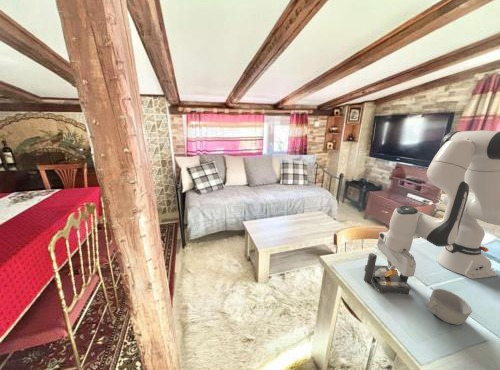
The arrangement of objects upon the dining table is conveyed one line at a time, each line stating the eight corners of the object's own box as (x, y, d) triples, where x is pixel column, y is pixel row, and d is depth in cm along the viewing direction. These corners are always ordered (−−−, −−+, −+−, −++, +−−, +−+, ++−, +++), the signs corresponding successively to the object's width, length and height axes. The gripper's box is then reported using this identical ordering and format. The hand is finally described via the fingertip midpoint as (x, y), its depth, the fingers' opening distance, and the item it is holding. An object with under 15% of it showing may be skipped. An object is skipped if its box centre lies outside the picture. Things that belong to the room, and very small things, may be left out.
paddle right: (378, 273, 93) (385, 268, 88) (379, 277, 92) (387, 272, 87) (373, 273, 93) (380, 268, 88) (374, 276, 92) (381, 271, 87)
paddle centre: (388, 273, 93) (396, 269, 88) (389, 277, 92) (398, 273, 87) (383, 273, 93) (391, 269, 88) (384, 277, 92) (392, 273, 87)
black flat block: (388, 270, 100) (390, 265, 99) (408, 293, 87) (410, 287, 86) (364, 270, 101) (365, 264, 100) (380, 292, 87) (381, 286, 86)
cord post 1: (369, 278, 95) (374, 253, 91) (372, 282, 93) (378, 257, 88) (362, 277, 96) (367, 253, 91) (365, 282, 93) (371, 257, 88)
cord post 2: (403, 279, 95) (410, 254, 91) (408, 284, 92) (415, 258, 88) (397, 279, 95) (404, 254, 91) (401, 284, 92) (408, 258, 88)
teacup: (448, 305, 82) (454, 289, 79) (473, 331, 71) (481, 314, 69) (411, 302, 83) (416, 286, 80) (431, 327, 73) (438, 310, 70)
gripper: (424, 259, 75) (415, 288, 79) (391, 230, 95) (384, 255, 99) (407, 258, 76) (398, 287, 80) (377, 230, 95) (371, 255, 99)
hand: (390, 269), depth 90 cm, fingers closed
